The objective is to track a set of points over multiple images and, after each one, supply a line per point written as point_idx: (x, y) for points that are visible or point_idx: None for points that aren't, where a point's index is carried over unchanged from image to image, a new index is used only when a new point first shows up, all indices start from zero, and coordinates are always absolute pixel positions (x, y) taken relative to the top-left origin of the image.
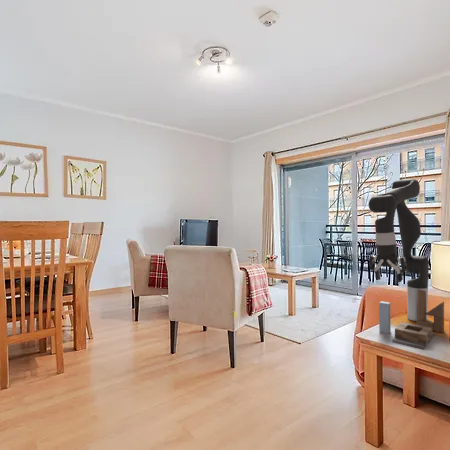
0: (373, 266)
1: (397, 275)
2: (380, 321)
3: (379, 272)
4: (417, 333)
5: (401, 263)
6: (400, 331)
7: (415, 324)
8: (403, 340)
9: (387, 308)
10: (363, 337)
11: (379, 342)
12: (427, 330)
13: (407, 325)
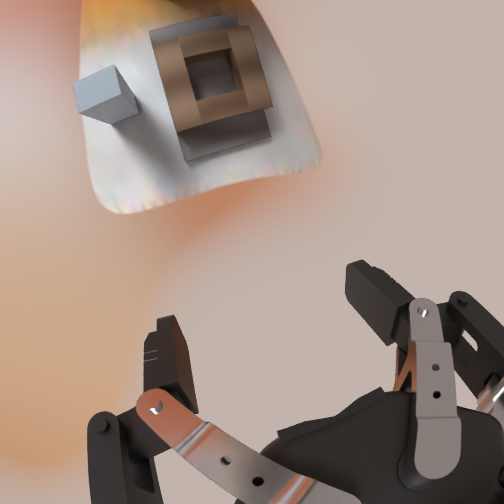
0: (123, 450)
1: (378, 333)
2: (106, 119)
3: (180, 374)
4: (248, 109)
5: (478, 392)
6: (196, 125)
7: (197, 34)
8: (211, 139)
9: (121, 100)
10: (118, 212)
11: (168, 201)
12: (252, 58)
13: (184, 63)
